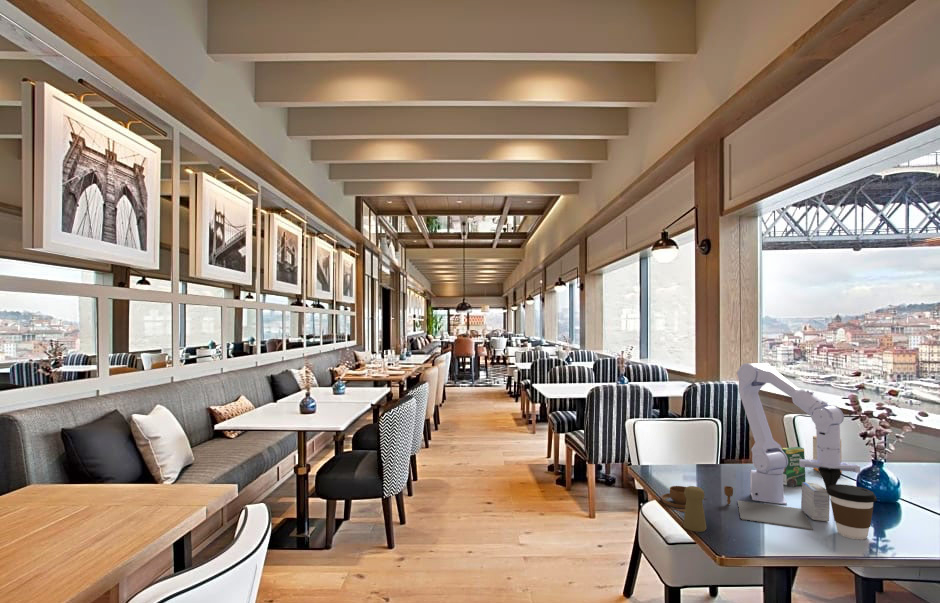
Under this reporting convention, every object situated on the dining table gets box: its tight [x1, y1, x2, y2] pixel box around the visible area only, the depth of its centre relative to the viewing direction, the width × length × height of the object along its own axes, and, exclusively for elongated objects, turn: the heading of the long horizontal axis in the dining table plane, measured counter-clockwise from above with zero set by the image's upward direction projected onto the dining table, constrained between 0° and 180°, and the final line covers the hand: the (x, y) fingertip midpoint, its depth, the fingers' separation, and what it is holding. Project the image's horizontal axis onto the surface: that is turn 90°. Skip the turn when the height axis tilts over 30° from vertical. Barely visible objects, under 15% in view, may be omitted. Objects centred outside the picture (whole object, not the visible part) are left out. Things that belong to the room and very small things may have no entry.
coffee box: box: [781, 446, 806, 488], centre depth 182 cm, size 8×3×13 cm, turn 101°
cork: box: [682, 485, 707, 533], centre depth 143 cm, size 6×6×11 cm
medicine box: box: [800, 481, 831, 522], centre depth 152 cm, size 8×4×9 cm, turn 168°
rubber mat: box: [737, 500, 814, 531], centre depth 153 cm, size 18×17×1 cm
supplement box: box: [812, 435, 843, 474], centre depth 200 cm, size 8×5×13 cm, turn 81°
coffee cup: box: [827, 483, 877, 541], centre depth 139 cm, size 11×11×12 cm
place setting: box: [661, 485, 734, 513], centre depth 161 cm, size 18×20×6 cm
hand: (829, 494), depth 150 cm, fingers closed
